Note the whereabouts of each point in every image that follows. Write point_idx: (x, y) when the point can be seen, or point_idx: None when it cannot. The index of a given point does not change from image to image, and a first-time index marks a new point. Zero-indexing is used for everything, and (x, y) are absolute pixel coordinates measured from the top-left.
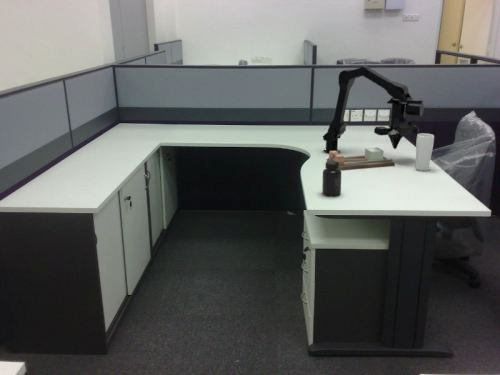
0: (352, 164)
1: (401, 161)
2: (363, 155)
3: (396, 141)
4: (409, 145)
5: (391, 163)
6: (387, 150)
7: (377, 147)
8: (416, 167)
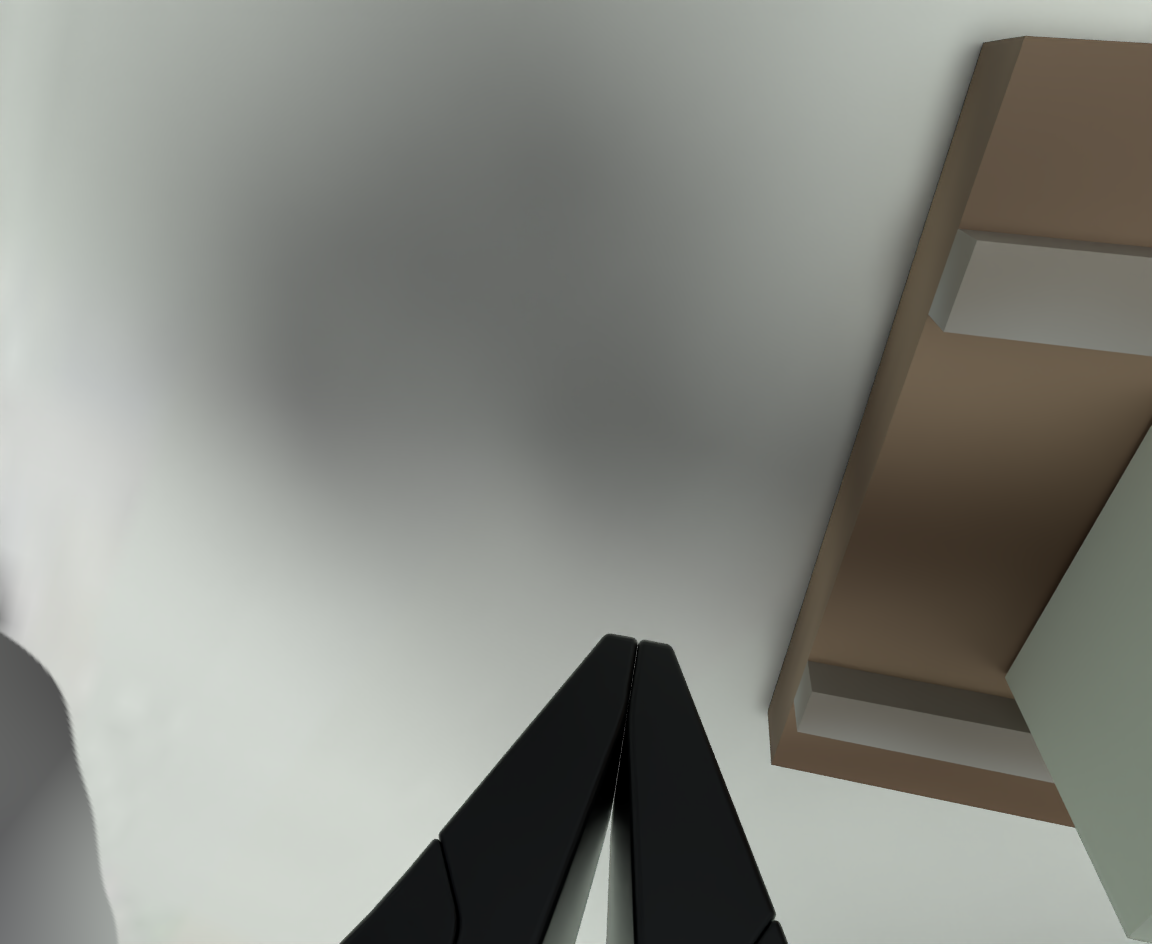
0: None
1: (523, 357)
2: None
3: (555, 929)
4: (99, 851)
5: (1145, 49)
6: None
7: (1135, 935)
8: None
